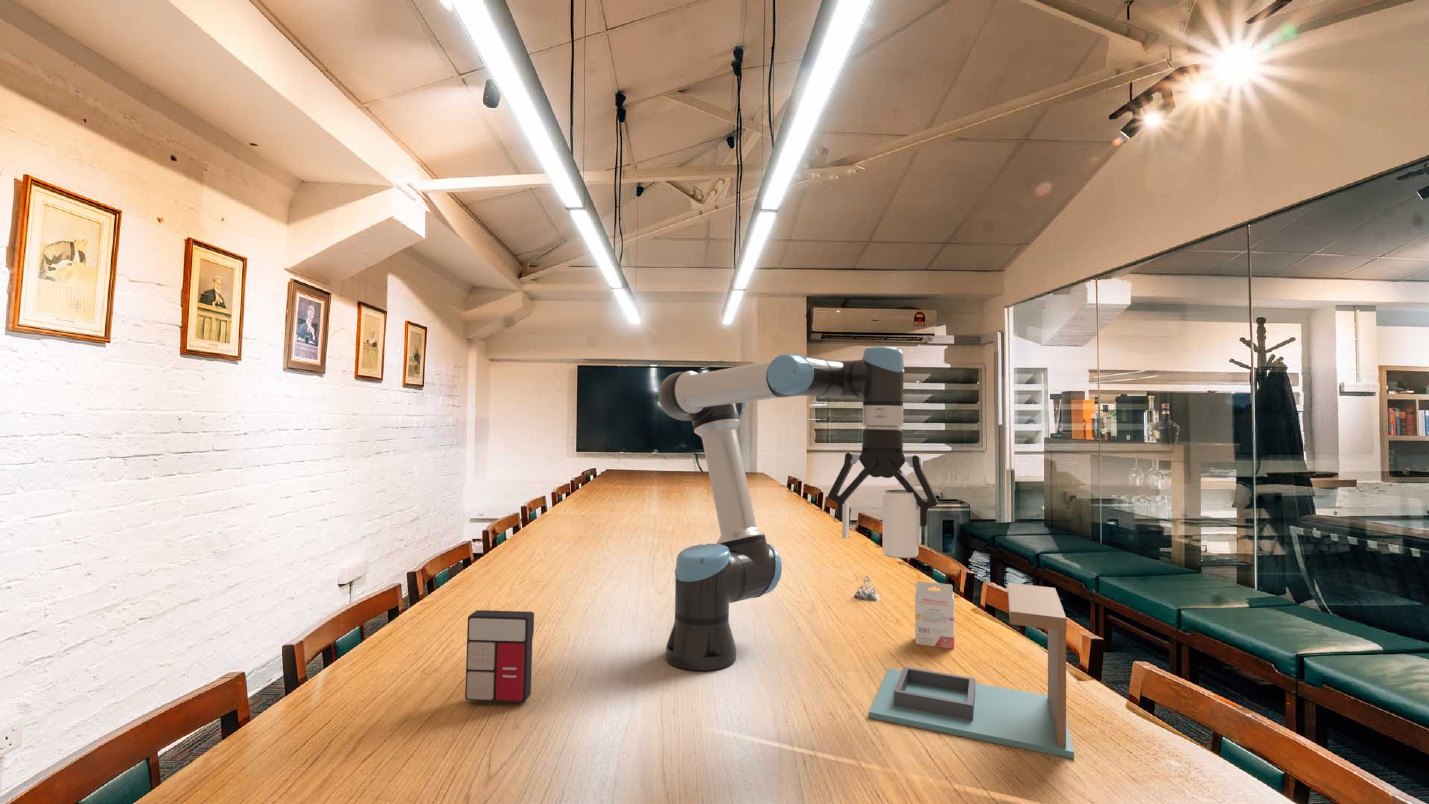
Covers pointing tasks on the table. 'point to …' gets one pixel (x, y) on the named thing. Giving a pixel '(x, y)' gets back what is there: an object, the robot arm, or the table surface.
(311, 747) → the table surface
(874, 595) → the house of cards
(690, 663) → the robot arm
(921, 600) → the ink cartridge box
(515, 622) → the calculator
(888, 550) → the can
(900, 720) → the socket stand
